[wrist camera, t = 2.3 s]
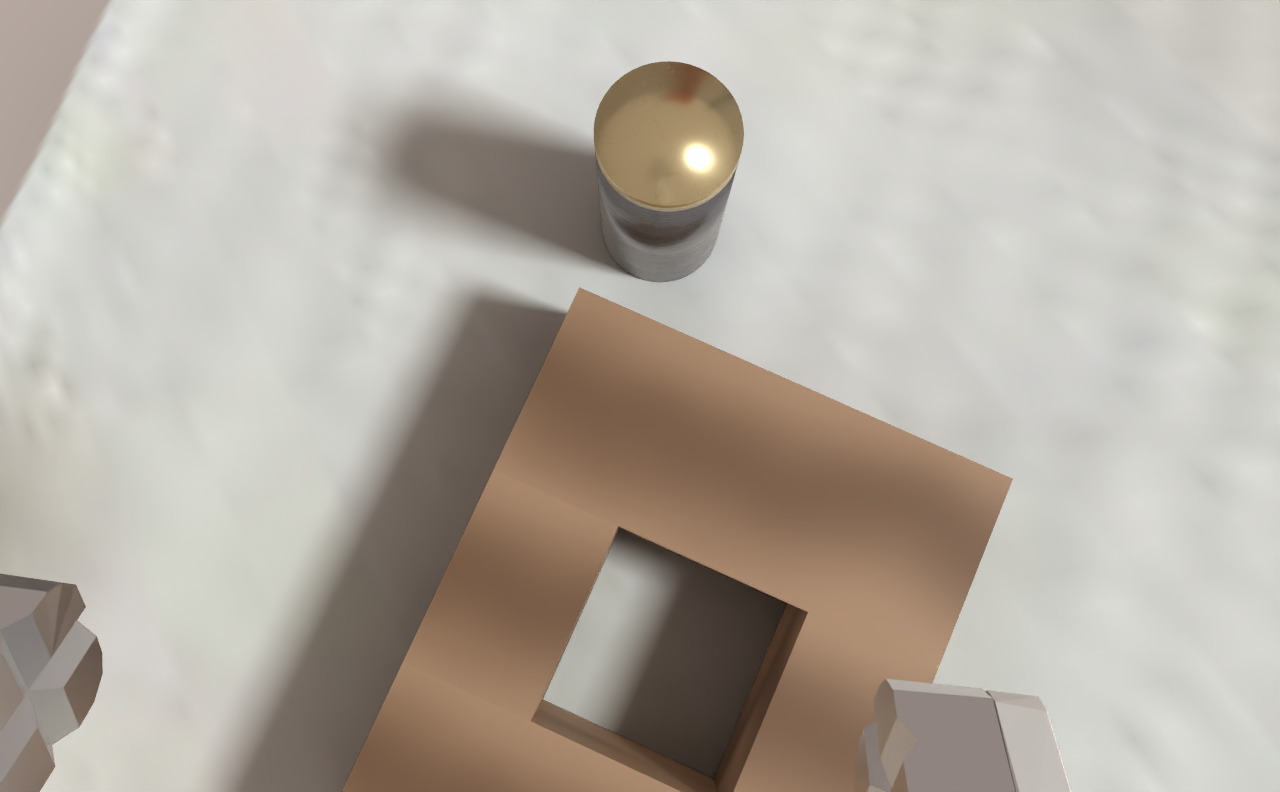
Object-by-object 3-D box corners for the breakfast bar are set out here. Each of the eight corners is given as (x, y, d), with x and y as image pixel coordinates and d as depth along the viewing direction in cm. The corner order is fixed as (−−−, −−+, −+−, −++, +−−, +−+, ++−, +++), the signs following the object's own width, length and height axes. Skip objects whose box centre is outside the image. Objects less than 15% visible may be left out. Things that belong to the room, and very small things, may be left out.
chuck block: (754, 1019, 31) (772, 1089, 27) (347, 824, 32) (306, 865, 28) (967, 486, 34) (1012, 479, 30) (585, 316, 34) (579, 287, 30)
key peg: (689, 300, 34) (707, 228, 26) (583, 253, 35) (569, 167, 27) (736, 197, 35) (767, 97, 27) (631, 152, 35) (631, 39, 27)
